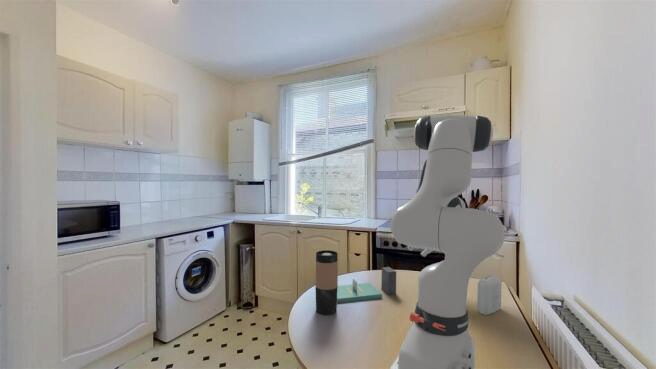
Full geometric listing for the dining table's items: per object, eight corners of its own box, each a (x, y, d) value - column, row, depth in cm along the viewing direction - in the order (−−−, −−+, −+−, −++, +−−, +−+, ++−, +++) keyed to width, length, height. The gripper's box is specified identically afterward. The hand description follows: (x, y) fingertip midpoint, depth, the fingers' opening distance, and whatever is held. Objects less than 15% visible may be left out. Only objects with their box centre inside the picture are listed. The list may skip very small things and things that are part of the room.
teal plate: (382, 297, 109) (382, 283, 109) (337, 302, 104) (337, 288, 104) (369, 286, 120) (369, 273, 120) (328, 290, 116) (329, 277, 116)
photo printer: (490, 304, 104) (491, 271, 104) (502, 309, 100) (503, 274, 100) (475, 311, 98) (475, 276, 98) (487, 316, 94) (488, 280, 94)
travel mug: (341, 308, 99) (341, 252, 99) (329, 317, 93) (330, 257, 92) (323, 303, 103) (323, 249, 103) (310, 311, 97) (311, 253, 96)
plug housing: (395, 293, 113) (396, 271, 113) (388, 294, 112) (388, 272, 112) (388, 288, 118) (389, 266, 118) (381, 289, 118) (381, 267, 117)
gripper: (417, 219, 130) (398, 242, 128) (447, 227, 110) (425, 253, 108) (426, 229, 131) (407, 251, 129) (457, 237, 111) (435, 264, 109)
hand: (415, 252), depth 118 cm, fingers open, 8 cm apart
